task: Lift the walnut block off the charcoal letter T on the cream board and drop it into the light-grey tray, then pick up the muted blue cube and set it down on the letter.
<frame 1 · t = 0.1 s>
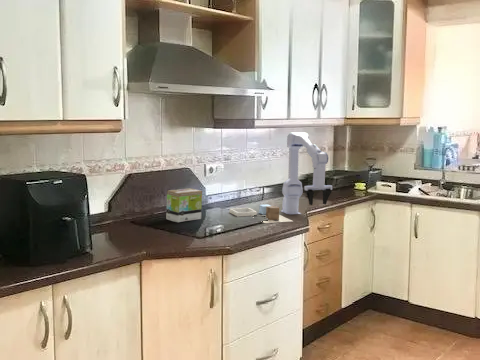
hand: (317, 204, 278), 10 cm above the worktop, fingers open, 7 cm apart
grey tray: (242, 214, 297), on the worktop
letter board: (272, 219, 287), on the worktop
walnut block: (272, 218, 287), point 1 cm above the worktop, touching letter board
blue cube: (265, 214, 300), on the worktop
tea box: (183, 219, 282), on the worktop
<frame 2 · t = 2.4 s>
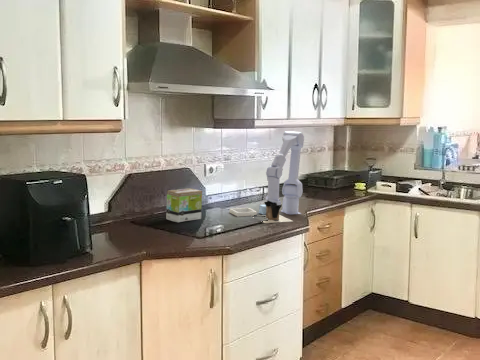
hand: (272, 216, 287), 2 cm above the worktop, fingers closed on walnut block, 5 cm apart
walnut block: (272, 218, 287), point 1 cm above the worktop, touching gripper, letter board
everything else where it was.
when the fingers open (3 cm above the worktop, at t = 6.5 s): walnut block drops 1 cm, resting on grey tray.
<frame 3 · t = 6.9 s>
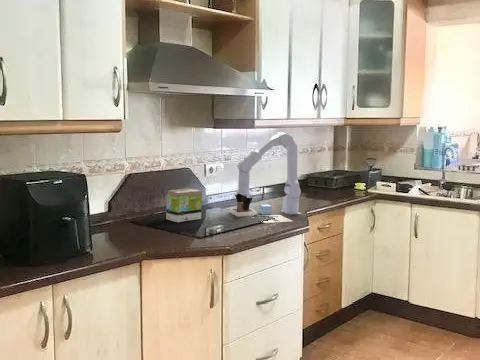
hand: (243, 209, 297), 3 cm above the worktop, fingers open, 7 cm apart
walnut block: (242, 214, 297), resting on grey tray
everything else where it was.
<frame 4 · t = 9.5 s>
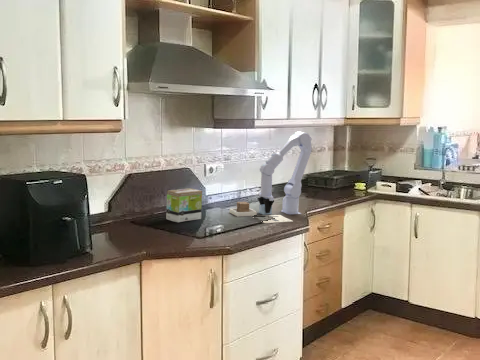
hand: (265, 211, 300), 1 cm above the worktop, fingers closed on blue cube, 5 cm apart
blue cube: (265, 214, 300), on the worktop, touching gripper
everything else where it was.
when the fingers open (3 cm above the worktop, at t = 12.9 s): blue cube drops 1 cm, resting on letter board.
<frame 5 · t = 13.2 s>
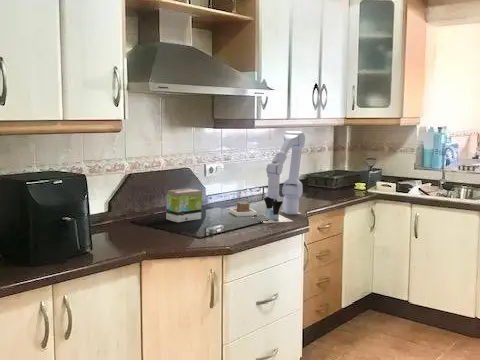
hand: (272, 213, 287), 3 cm above the worktop, fingers open, 7 cm apart
blue cube: (272, 218, 287), point 1 cm above the worktop, touching letter board
everything else where it was.
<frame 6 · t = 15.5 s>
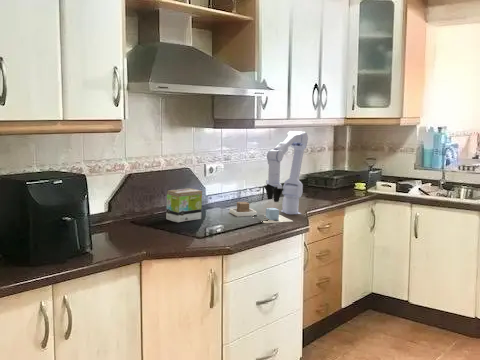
hand: (273, 200, 286), 10 cm above the worktop, fingers open, 7 cm apart
nothing on the worktop moved.
at the end: walnut block 0.1 cm off-centre on the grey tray, point 0.4 cm above the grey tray's base; blue cube 0.2 cm off-centre on the letter board, point 0.5 cm above the letter board's base; blue cube tilted 0° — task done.
